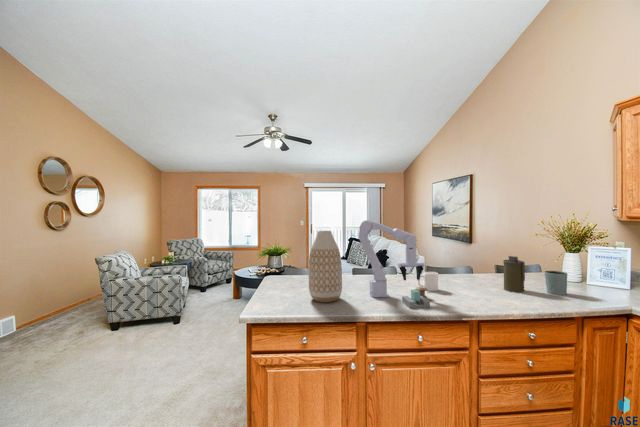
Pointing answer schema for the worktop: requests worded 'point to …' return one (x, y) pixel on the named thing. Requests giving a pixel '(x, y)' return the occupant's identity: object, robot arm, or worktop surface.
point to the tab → (415, 296)
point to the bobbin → (422, 291)
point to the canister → (514, 275)
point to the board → (411, 303)
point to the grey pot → (556, 282)
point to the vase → (325, 268)
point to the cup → (430, 281)
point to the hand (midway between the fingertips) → (411, 279)
